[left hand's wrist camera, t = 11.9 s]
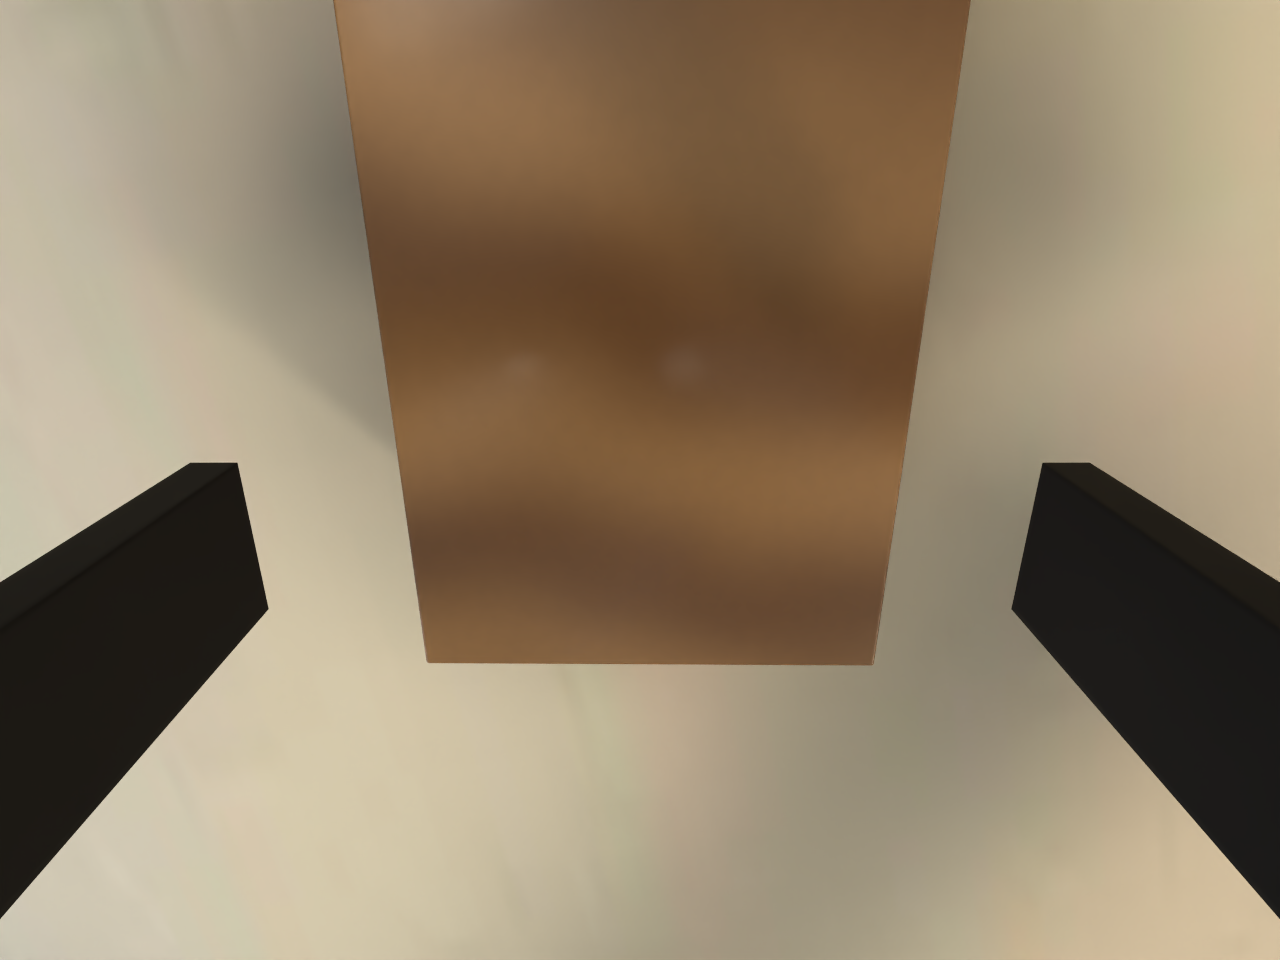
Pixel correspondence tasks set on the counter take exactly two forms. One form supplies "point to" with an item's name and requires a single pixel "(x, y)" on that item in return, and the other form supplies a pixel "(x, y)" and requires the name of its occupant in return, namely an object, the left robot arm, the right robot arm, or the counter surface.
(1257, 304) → the counter surface
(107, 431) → the counter surface
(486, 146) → the thick board
